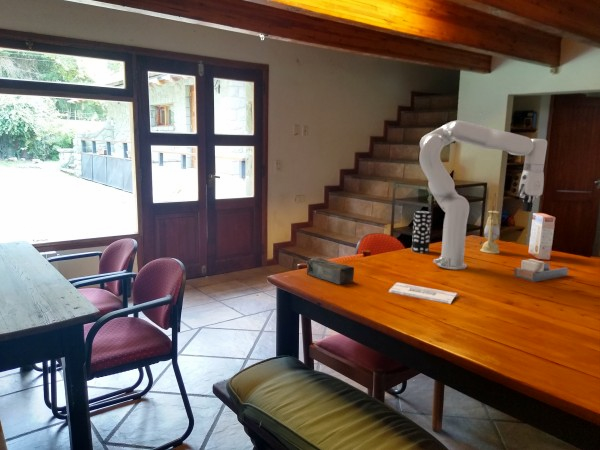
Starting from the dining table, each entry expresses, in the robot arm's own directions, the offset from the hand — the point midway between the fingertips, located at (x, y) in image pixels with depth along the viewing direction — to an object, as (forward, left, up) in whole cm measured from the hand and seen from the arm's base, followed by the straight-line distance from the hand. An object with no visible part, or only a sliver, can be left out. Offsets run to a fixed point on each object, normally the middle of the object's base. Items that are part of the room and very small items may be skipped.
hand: (526, 211), depth 195 cm
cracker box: (+30, +11, -26) cm, 41 cm away
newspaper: (-64, -6, -27) cm, 70 cm away
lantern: (+16, +29, -26) cm, 42 cm away
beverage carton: (-84, +24, -26) cm, 91 cm away
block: (-8, -11, -26) cm, 29 cm away
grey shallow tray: (-2, -11, -26) cm, 28 cm away
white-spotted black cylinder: (-17, +44, -26) cm, 54 cm away
